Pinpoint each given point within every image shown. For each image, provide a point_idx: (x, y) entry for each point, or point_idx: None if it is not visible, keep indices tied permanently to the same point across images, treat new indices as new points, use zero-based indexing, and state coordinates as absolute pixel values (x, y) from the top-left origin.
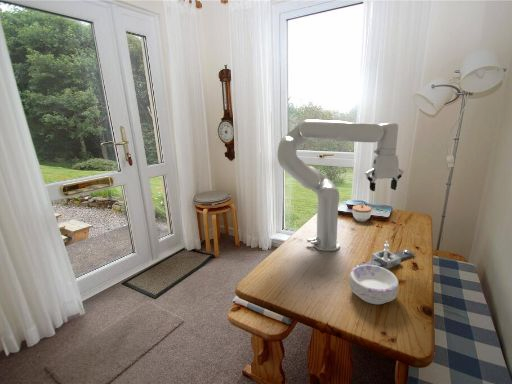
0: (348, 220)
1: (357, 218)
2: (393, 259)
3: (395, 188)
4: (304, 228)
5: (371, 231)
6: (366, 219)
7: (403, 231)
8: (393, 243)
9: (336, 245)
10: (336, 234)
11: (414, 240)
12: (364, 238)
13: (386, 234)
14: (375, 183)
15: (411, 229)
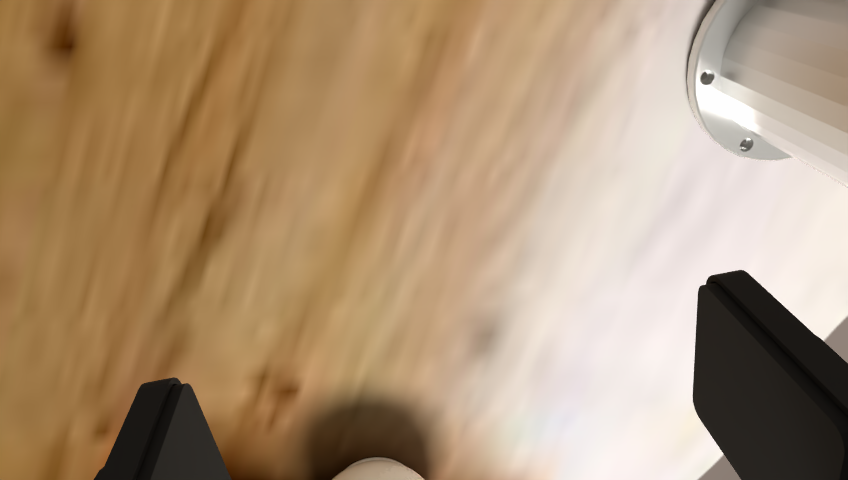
0: (470, 467)
1: (416, 473)
2: None
3: (147, 400)
4: (827, 331)
5: (357, 308)
6: (349, 467)
7: (108, 320)
8: (243, 112)
9: (735, 25)
10: (805, 39)
11: (56, 171)
12: (448, 191)
13: (256, 265)
14: (834, 425)
15: (36, 356)
